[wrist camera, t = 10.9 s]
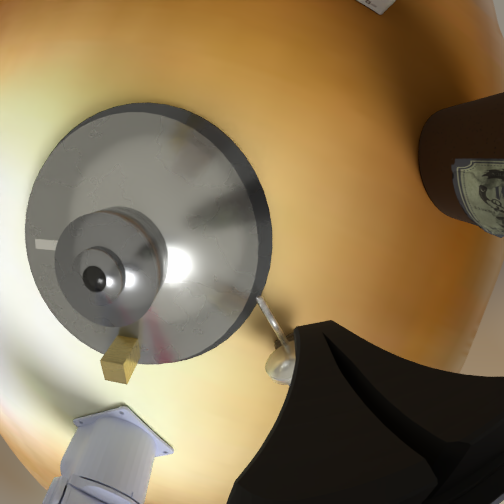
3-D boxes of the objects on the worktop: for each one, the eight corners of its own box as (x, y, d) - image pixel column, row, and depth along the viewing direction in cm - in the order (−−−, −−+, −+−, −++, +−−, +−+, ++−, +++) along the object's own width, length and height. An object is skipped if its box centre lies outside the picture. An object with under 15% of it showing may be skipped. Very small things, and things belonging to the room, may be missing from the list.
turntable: (50, 336, 19) (24, 362, 15) (37, 128, 15) (0, 122, 10) (246, 365, 20) (248, 405, 16) (268, 119, 16) (278, 100, 12)
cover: (82, 298, 17) (55, 325, 13) (76, 205, 15) (41, 213, 11) (169, 309, 17) (155, 342, 14) (170, 208, 16) (152, 218, 12)
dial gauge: (273, 362, 21) (282, 405, 16) (233, 299, 20) (233, 335, 15) (314, 343, 21) (332, 382, 16) (279, 275, 19) (293, 306, 15)
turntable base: (117, 382, 21) (114, 388, 21) (7, 201, 17) (1, 202, 16) (315, 293, 20) (318, 298, 19) (189, 58, 15) (187, 53, 15)
